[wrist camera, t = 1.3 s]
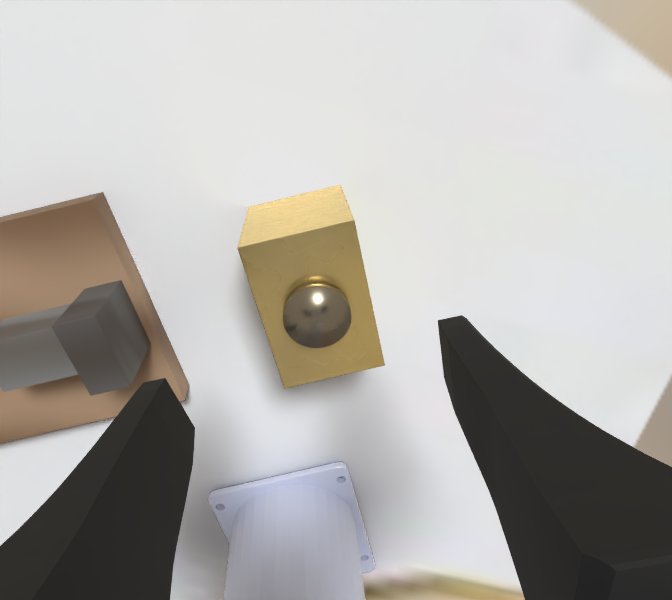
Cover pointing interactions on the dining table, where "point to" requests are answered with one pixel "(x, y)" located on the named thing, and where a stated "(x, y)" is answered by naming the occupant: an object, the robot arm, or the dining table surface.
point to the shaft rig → (74, 321)
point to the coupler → (310, 286)
